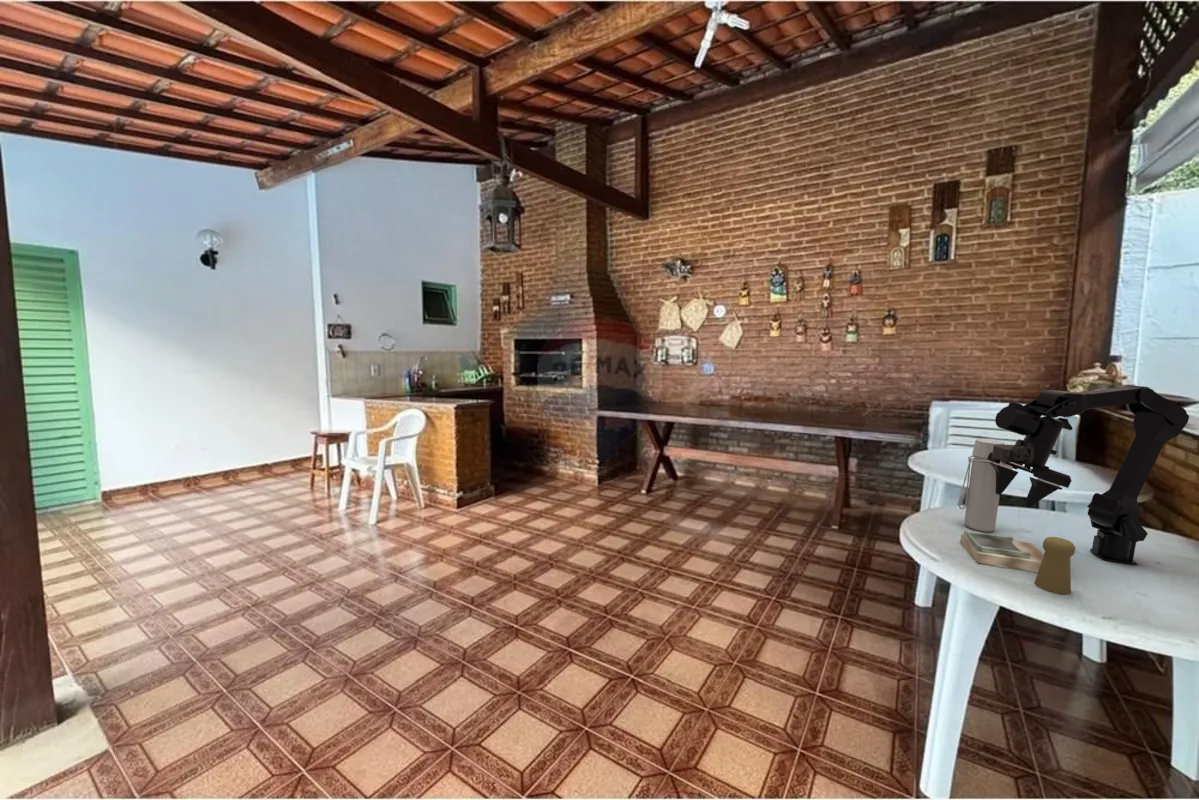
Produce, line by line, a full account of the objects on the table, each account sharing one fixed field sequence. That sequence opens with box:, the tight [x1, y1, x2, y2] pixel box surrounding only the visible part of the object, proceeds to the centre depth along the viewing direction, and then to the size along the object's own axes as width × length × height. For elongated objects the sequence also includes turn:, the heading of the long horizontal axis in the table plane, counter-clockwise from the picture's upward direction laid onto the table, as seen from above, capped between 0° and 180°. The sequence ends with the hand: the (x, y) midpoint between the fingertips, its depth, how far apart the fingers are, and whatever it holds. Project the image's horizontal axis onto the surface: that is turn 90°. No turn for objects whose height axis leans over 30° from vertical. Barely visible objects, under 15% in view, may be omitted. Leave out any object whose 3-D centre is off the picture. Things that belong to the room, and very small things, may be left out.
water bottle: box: [958, 438, 1006, 533], centre depth 144 cm, size 9×8×25 cm
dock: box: [959, 530, 1045, 573], centre depth 126 cm, size 15×13×4 cm
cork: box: [1033, 536, 1076, 596], centre depth 111 cm, size 6×6×11 cm
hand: (1011, 500), depth 126 cm, fingers open, 9 cm apart
